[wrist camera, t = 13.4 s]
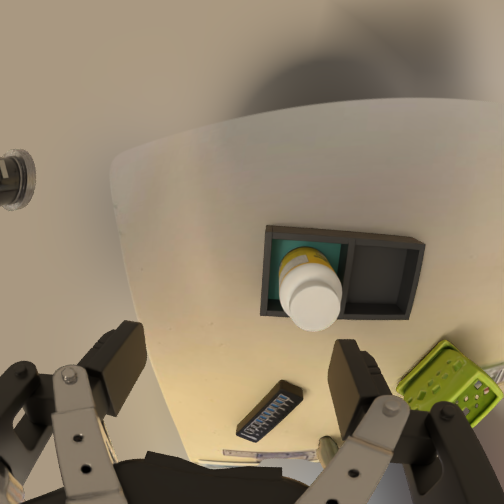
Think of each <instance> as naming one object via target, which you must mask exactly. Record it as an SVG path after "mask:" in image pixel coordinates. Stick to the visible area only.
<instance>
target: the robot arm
mask: <svg viewBox="0 0 504 504" xmlns="http://www.w3.org/2000/svg"><path fill="white" fill-rule="evenodd" d="M22 187H23V170H22V166H21V164H20V162H19V160H18V159H17V158H16V157H14V156H8V157H0V206H5V205H11V204H14V203H15V202H16V201H17V200H18V199H19V197H20V194H21V191H22ZM146 360H147V351H146V344H145V336H144V328H143V325H142V323H140V322H133V321H127V320H124V321H123V322H122V323H121V324H120V326H119V327H118V328H117V329H116V330H114V329H113V330H111V331H109V332H107V333H105V334H104V335H103V336H102V337H101V338H100V339H99V340H98V342H96V343H95V345H94V346H93V348H91V349H90V350H89V351H88V353H87V354H86V355H85V356H84V357H83V358H82V359H81V361H80V362H79V363H78V364H77V365H66V366H63V367H61V368H59V369H58V370H57V371H55V373H54V374H53V375H49V374H38V371H37V369H36V366H35V365H34V364H33V363H31V362H28V361H20V362H17V363H15V364H13V365H11V366H10V367H9V368H8V369H7V370H6V371H5V372H4V374H3V375H1V377H0V504H367V502H368V500H369V498H370V497H371V495H372V494H373V492H374V490H375V489H376V487H377V485H378V483H379V481H380V480H381V478H382V476H383V474H384V472H385V470H386V468H387V467H388V465H389V463H402V465H403V468H404V472H405V475H406V479H407V482H408V486H409V490H410V493H411V498H412V501H413V504H504V492H503V490H502V487H501V485H500V483H499V481H498V479H497V476H496V474H495V472H494V470H493V468H492V466H491V464H490V462H489V460H488V458H487V456H486V454H485V452H484V450H483V448H482V446H481V444H480V442H479V440H478V439H477V437H476V435H475V433H474V431H473V429H472V427H471V426H470V424H469V422H468V420H467V418H466V417H465V415H464V413H463V411H462V410H461V408H460V407H459V406H457V405H456V404H454V403H452V402H448V401H440V402H437V403H435V404H434V405H433V406H432V408H431V409H430V411H420V410H412V409H410V408H409V405H408V404H407V402H406V401H404V400H403V399H402V398H400V397H397V396H394V395H392V393H391V391H390V389H389V387H388V385H387V383H386V381H385V379H384V377H383V375H382V374H381V371H380V369H379V367H378V365H377V363H376V361H375V359H374V358H373V357H372V356H371V355H370V354H369V353H368V352H366V351H360V349H359V347H358V345H357V343H356V341H355V340H354V339H337V340H336V341H335V344H334V348H333V353H332V357H331V361H330V365H329V369H328V384H329V388H330V392H331V396H332V400H333V404H334V408H335V412H336V416H337V421H338V425H339V429H340V433H341V437H342V441H345V442H344V443H343V445H342V446H341V447H340V449H339V450H338V451H337V453H336V454H335V455H334V457H333V458H332V459H331V461H330V462H329V463H328V465H327V466H326V467H325V468H324V470H323V471H322V472H321V474H320V475H319V476H318V477H317V478H316V480H315V481H314V482H313V483H312V484H311V486H308V485H306V484H304V483H302V482H300V481H297V480H295V479H292V478H288V477H284V476H282V467H254V466H245V467H237V468H227V469H208V468H205V467H203V466H200V465H197V464H194V463H192V462H189V461H187V460H184V459H182V458H179V457H174V456H169V455H164V454H160V453H155V452H151V451H147V454H146V456H145V459H132V460H125V461H121V462H119V461H118V459H117V456H116V454H115V451H114V449H113V446H112V443H111V441H110V438H109V435H108V432H107V429H106V426H105V423H104V420H103V419H104V417H105V415H106V414H107V415H111V416H114V417H116V416H117V415H118V413H119V411H120V409H121V407H122V406H123V404H124V402H125V400H126V399H127V397H128V395H129V393H130V391H131V390H132V388H133V386H134V384H135V382H136V381H137V379H138V377H139V376H140V374H141V372H142V370H143V369H144V367H145V364H146ZM21 408H23V409H24V411H25V415H24V416H23V417H22V419H21V420H20V421H19V423H18V424H17V426H16V427H15V428H14V429H13V420H14V417H15V416H16V414H17V413H18V412H19V411H20V409H21ZM52 433H53V434H54V441H55V447H56V452H57V458H58V463H59V468H60V472H61V477H62V481H63V485H64V487H62V488H60V489H57V490H55V491H52V492H50V493H47V494H44V495H42V496H39V497H36V498H33V499H30V500H28V501H25V499H24V489H23V485H24V483H25V481H26V479H27V478H28V476H29V474H30V472H31V470H32V468H33V467H34V465H35V463H36V461H37V459H38V458H39V456H40V454H41V452H42V450H43V449H44V447H45V445H46V444H47V442H48V440H49V439H50V437H51V435H52Z"/></svg>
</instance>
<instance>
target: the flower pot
mask: <svg viewBox="0 0 504 504" xmlns="http://www.w3.org/2000/svg"><path fill="white" fill-rule="evenodd" d="M478 380H479V381H480V382H481V383H482V385H481V387H480V388H478V389H477V388H476V387H475V386H474V384H475V383H476V382H477V381H478ZM486 387H489V392H488V393H487V394H484V389H485V388H486ZM396 391H397V392H398V393H399V394H401V395H403V396H404V401H406V402H407V404H408V405H409V408H410V409H412V410H420V411H430V409H431V408H432V406H433V405H434V404H435V403H437V402H440V401H448V402H452V403H454V404H455V402H456V400H457V401H458V404H456V405H457V406H459V407H460V408H461V410H462V411H463V410H464V409H465V408H466V407H467V408H468V409H469V411H470V412H469V413H468V414H467V415H466V416H465V417H466V418H467V420H468V422H469V424H470V426H471V427H472V428H473V427H474V426H476V424H477V423H479V422H480V421H481V420H482V419H483V418H484V417H485V416H486V415H487V414H488V413H489V412H490V411H491V410H492V409H493V408H494V407H495V406H496V405H497V403H498V402H499V401H500V400H501V399H502V398H503V396H504V395H503V392H502V390H501V389H500V388H499V386H498V385H497V384H496V383H495V382H494V381H493V380H492V378H491V377H490V376H489V375H488V374H487V373H486V372H484V371H483V370H482V369H481V368H480V367H479V366H478V365H476V364H475V363H474V362H472V361H471V360H470V359H468V358H467V357H466V356H464V355H463V354H462V353H461V352H460V351H459V350H458V349H457V348H456V347H455V346H454V345H453V344H451V343H450V342H449V341H447V340H442V341H441V342H439V343H438V344H437V345H436V346H435V347H434V349H433V350H432V351H431V352H430V353H429V354H428V355H427V356H426V357H425V358H424V359H423V360H422V361H421V362H420V363H419V364H418V365H417V366H416V367H415V368H414V369H413V370H412V371H411V372H410V373H409V374H408V375H407V376H406V377H405V378H404V379H403V380H402V381H401V382H400V383H399V384H398V386H397V388H396ZM476 395H478V396H479V398H478V399H475V397H476ZM467 396H468V400H467V401H465V397H467ZM476 404H478V407H477V408H476Z"/></svg>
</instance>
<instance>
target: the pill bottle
mask: <svg viewBox="0 0 504 504" xmlns="http://www.w3.org/2000/svg"><path fill="white" fill-rule="evenodd" d="M279 297H280V302H281V305H282V308H283V309H284V311H285V312H286V314H287V315H288V316H289V317H291V318H292V320H293V322H294V323H295V324H296V325H297V326H298V327H299V328H301V329H303V330H306V331H321V330H323V329H326V328H328V327H329V326H331V325H332V324H333V323H334V322H335V321H336V319H337V317H338V315H339V313H340V302H341V298H342V286H341V283H340V280H339V278H338V276H337V275H336V273H335V272H334V270H333V268H332V267H331V265H330V263H329V262H328V260H327V258H326V257H325V255H324V254H323V253H322V252H320V251H319V250H318V249H316V248H313V247H309V246H301V247H297V248H294V249H292V250H290V251H289V252H288V253H287V254H286V255H285V256H284V257H283V259H282V260H281V263H280V266H279Z"/></svg>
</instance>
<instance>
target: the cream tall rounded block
mask: <svg viewBox="0 0 504 504" xmlns="http://www.w3.org/2000/svg"><path fill="white" fill-rule="evenodd" d="M319 441H320V443H319V448H318V449H317V452H316V454H317V457H318V459H319V461H320V463H321V465H322V467H323V468H325V467H326V466H327V465H328V463H329V462H330V461H331V459H332V458H333V457H334V455H335V454H336V453H337V451H338V450H339V449H338V447H337V444H336V443H335V442H334V441H333V440H332V439H331V438H330V437H329V436H325V437H322V438H321V439H320V440H319Z"/></svg>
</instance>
